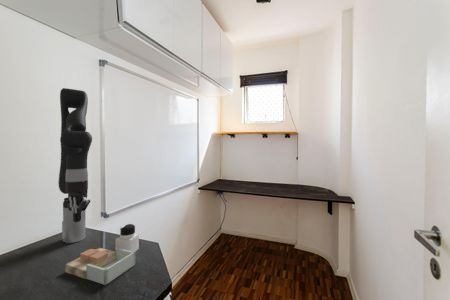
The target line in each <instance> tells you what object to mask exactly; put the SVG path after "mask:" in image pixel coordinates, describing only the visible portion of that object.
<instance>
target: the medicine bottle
mask: <svg viewBox="0 0 450 300" xmlns="http://www.w3.org/2000/svg"><path fill="white" fill-rule="evenodd" d="M119 228H120V229H119V236H118V237H116V239H115V252H116V249H117V248H121V249H125V250H129V251H133V252H135V253H136V252H137V251H138V250H139V249H140V245H139V243H140V234H139V233H136V225H135V224H132V223H128V224H124V225H121V226H120V227H119Z"/></svg>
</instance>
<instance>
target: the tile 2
mask: <svg viewBox="0 0 450 300" xmlns="http://www.w3.org/2000/svg"><path fill="white" fill-rule="evenodd" d="M107 258H108V253H107V252H103V251H98V252H96V253H94V254H93V255H91V256H89V261H90V262H93V263H97V264H98V263H100V262H102V261H103V260H105V259H107Z"/></svg>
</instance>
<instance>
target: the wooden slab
mask: <svg viewBox="0 0 450 300" xmlns="http://www.w3.org/2000/svg"><path fill="white" fill-rule="evenodd" d="M95 250H99V251H103V252H107V253H108V258H107V259H105V260H103V261H102V262H100V263H98V264H97V263H93V262H90V261H87V260H83V259H80V256H79V257H77V258H75V259H73V260H71V261H69V262H67V263H65V264H64V266H65V268H64V269H65V273H67V274H70V275H72V276H76V277H79V278H82V279H84V280H87V279H86V265H87V264H91V265H95V266H98V267H101V268H103V267H105V266H106V265H108V264H110V263H111V262H113V261H115V260H116V252H115V251H113V250H110V249H106V248H102V247H98V248H96V249H95Z"/></svg>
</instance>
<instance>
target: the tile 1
mask: <svg viewBox="0 0 450 300" xmlns="http://www.w3.org/2000/svg"><path fill="white" fill-rule="evenodd" d="M98 251H99V250H96V249H94V248H90V249H87V250H85V251H82V252H81V253H80V254H79V257H80V259H83V260H87V261H89V256H91V255H93V254H94V253H96V252H98Z"/></svg>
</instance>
